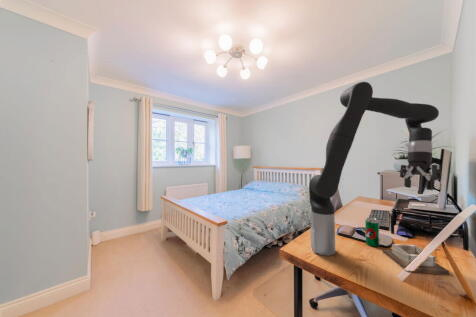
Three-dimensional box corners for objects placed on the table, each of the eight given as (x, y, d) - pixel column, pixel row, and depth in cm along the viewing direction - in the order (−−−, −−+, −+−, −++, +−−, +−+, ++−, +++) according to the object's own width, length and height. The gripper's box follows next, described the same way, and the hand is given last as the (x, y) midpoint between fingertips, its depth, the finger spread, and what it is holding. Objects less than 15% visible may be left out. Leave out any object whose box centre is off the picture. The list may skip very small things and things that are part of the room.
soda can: (381, 247, 79) (381, 221, 79) (369, 247, 80) (368, 220, 80) (375, 242, 84) (375, 217, 84) (363, 241, 85) (363, 217, 85)
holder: (406, 271, 63) (406, 258, 63) (382, 252, 76) (382, 241, 76) (449, 274, 61) (449, 260, 61) (417, 254, 74) (417, 242, 74)
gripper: (396, 152, 85) (394, 186, 84) (431, 149, 70) (429, 190, 70) (410, 154, 85) (408, 187, 84) (447, 151, 71) (446, 191, 70)
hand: (418, 188), depth 77 cm, fingers open, 8 cm apart
